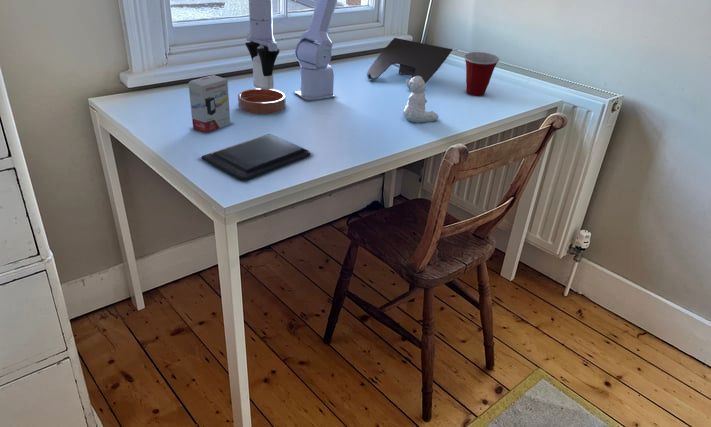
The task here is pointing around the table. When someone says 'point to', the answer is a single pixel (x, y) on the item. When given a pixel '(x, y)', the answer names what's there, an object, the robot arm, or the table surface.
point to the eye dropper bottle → (261, 75)
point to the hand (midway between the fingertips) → (263, 72)
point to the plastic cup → (479, 71)
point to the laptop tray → (410, 59)
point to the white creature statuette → (417, 102)
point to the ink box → (209, 103)
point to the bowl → (261, 101)
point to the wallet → (256, 157)
